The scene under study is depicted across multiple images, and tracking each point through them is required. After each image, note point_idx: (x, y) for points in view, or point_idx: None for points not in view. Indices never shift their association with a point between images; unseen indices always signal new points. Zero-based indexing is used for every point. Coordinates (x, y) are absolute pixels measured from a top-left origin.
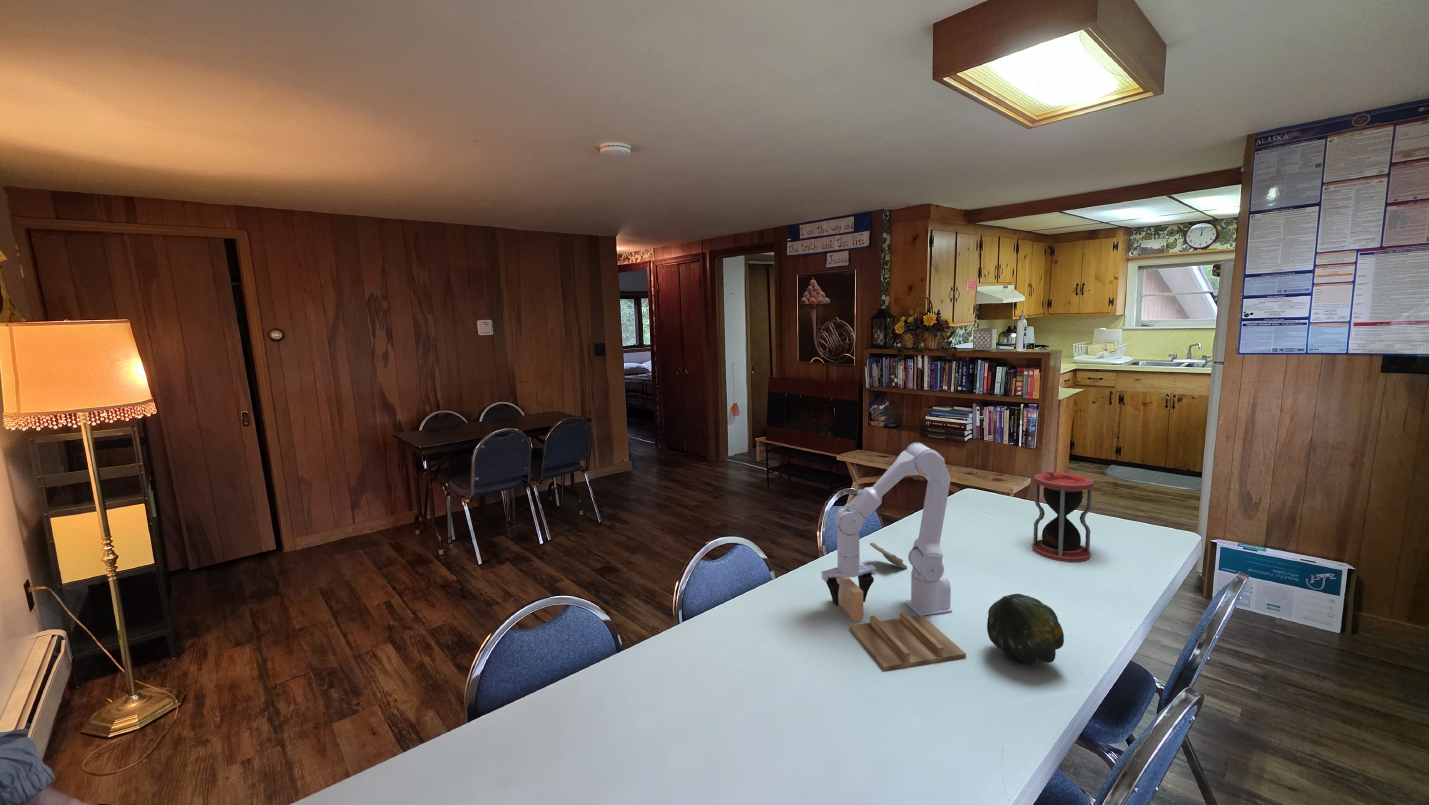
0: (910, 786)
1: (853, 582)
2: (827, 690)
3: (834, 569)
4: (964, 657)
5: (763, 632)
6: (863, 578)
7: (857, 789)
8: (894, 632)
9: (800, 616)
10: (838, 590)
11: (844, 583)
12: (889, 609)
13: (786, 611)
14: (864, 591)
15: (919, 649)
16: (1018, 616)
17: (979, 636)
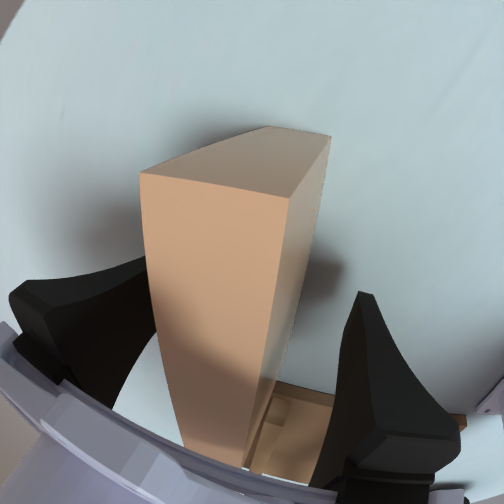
0: None
1: (244, 424)
2: (116, 409)
3: (24, 399)
4: None
5: (18, 237)
6: (319, 483)
7: None
8: (309, 441)
9: (77, 204)
10: (129, 369)
11: (170, 384)
12: (457, 342)
13: (49, 152)
14: (334, 402)
15: (307, 472)
16: None
17: (464, 468)
